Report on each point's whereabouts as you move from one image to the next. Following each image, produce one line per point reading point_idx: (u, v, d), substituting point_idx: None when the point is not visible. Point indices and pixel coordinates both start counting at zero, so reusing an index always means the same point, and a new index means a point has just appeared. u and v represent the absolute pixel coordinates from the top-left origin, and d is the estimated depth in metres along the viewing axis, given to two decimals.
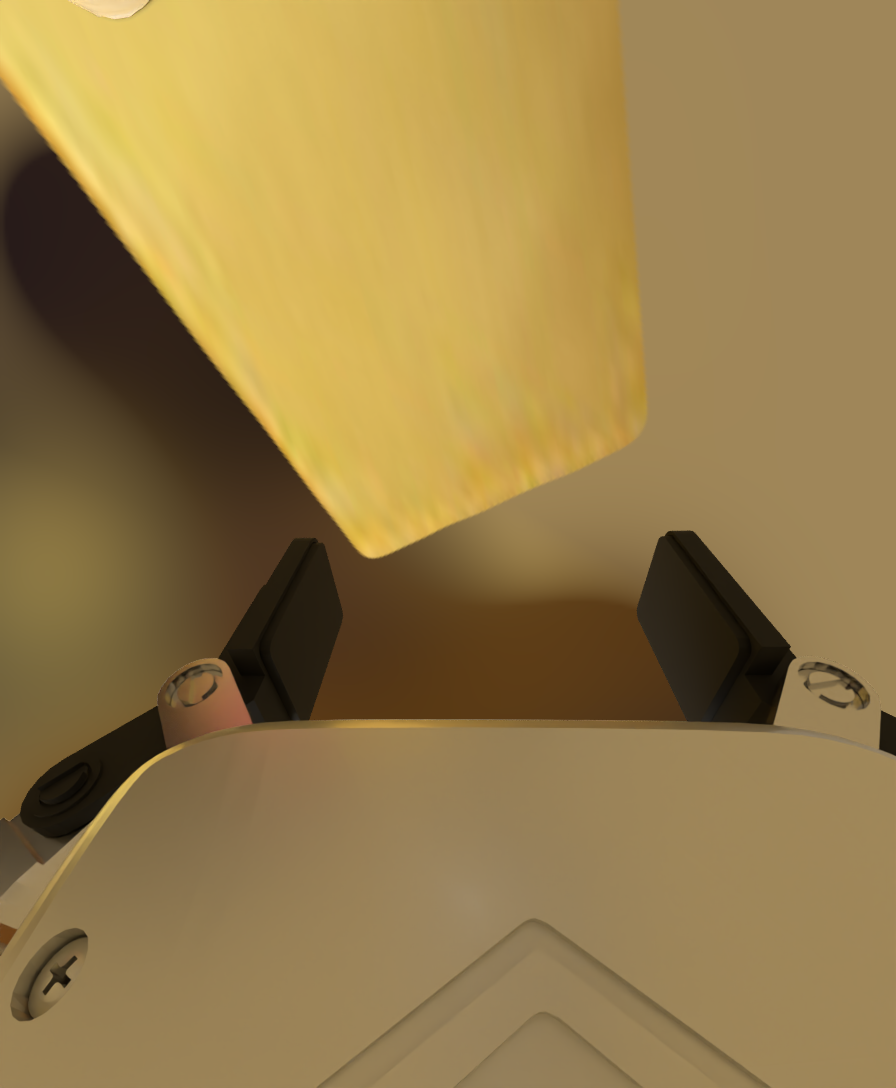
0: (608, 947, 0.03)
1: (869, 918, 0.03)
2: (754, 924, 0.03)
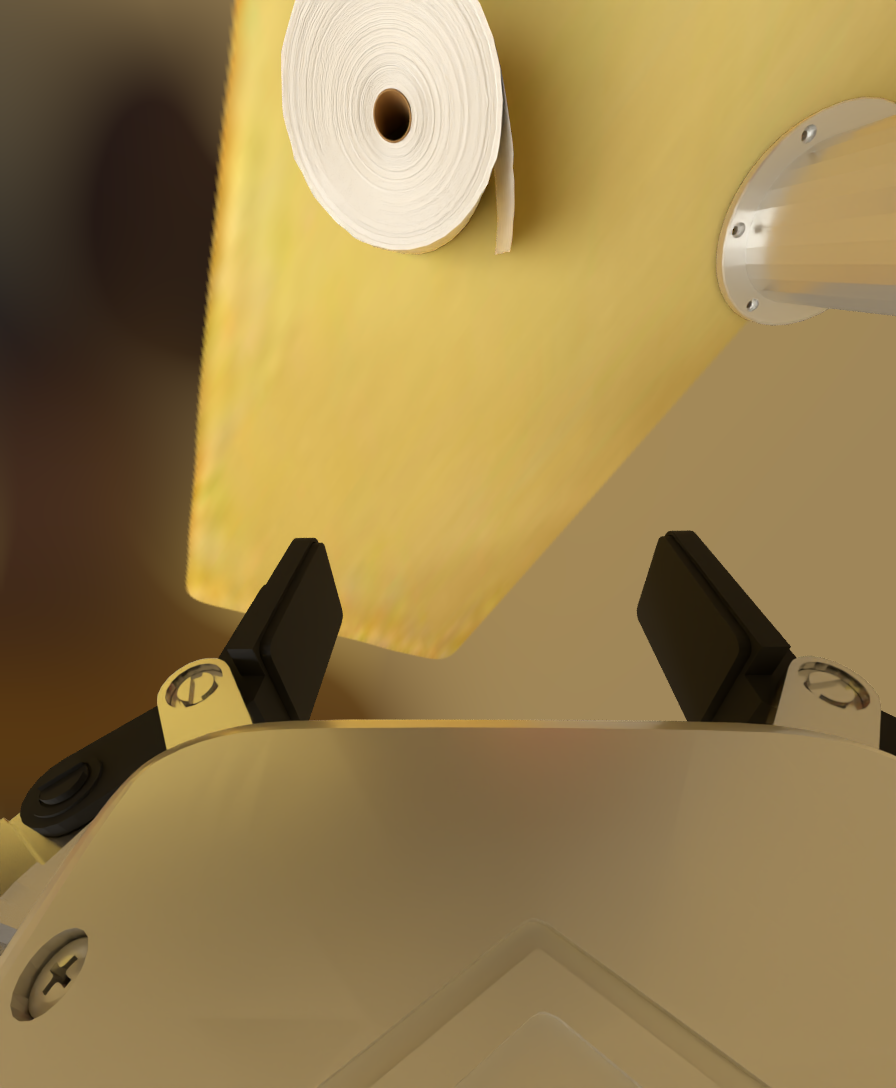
0: (609, 947, 0.03)
1: (869, 918, 0.03)
2: (754, 924, 0.03)
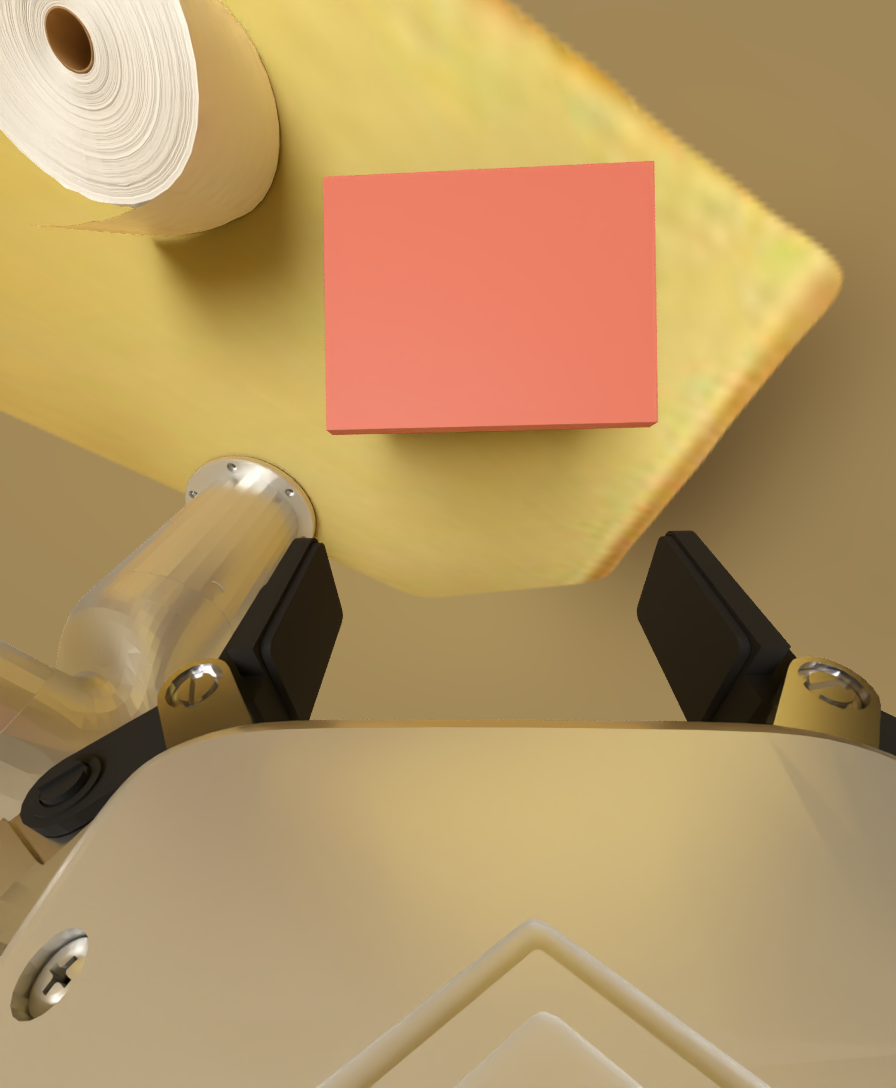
0: (609, 948, 0.03)
1: (870, 918, 0.03)
2: (755, 924, 0.03)
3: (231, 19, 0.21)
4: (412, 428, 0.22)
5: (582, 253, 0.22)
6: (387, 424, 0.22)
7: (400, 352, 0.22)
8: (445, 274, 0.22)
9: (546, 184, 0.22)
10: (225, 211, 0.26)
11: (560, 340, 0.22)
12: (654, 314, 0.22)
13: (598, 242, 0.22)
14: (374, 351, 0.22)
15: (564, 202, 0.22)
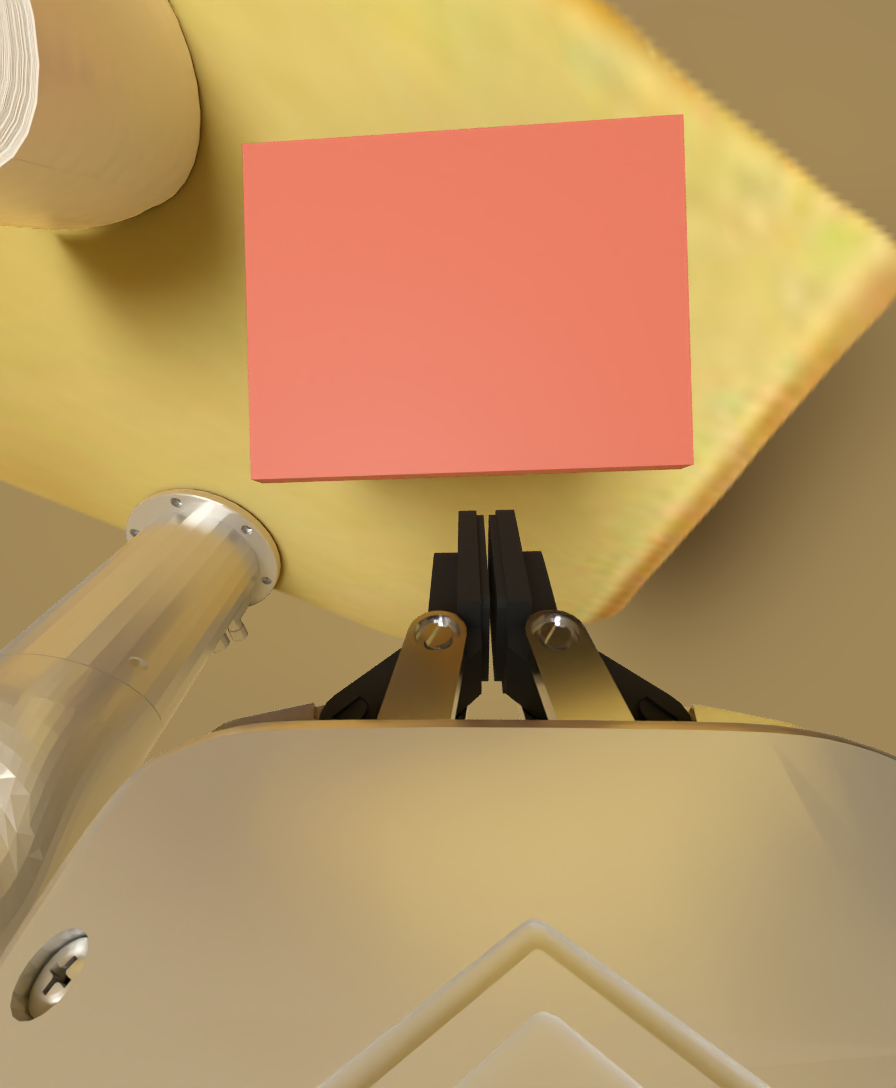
0: (607, 948, 0.03)
1: (869, 918, 0.03)
2: (754, 924, 0.03)
3: None
4: (365, 476, 0.17)
5: (588, 239, 0.16)
6: (331, 472, 0.17)
7: (347, 375, 0.17)
8: (405, 270, 0.16)
9: (538, 148, 0.16)
10: (131, 195, 0.20)
11: (560, 356, 0.16)
12: (686, 320, 0.16)
13: (610, 224, 0.16)
14: (312, 374, 0.17)
15: (563, 172, 0.16)
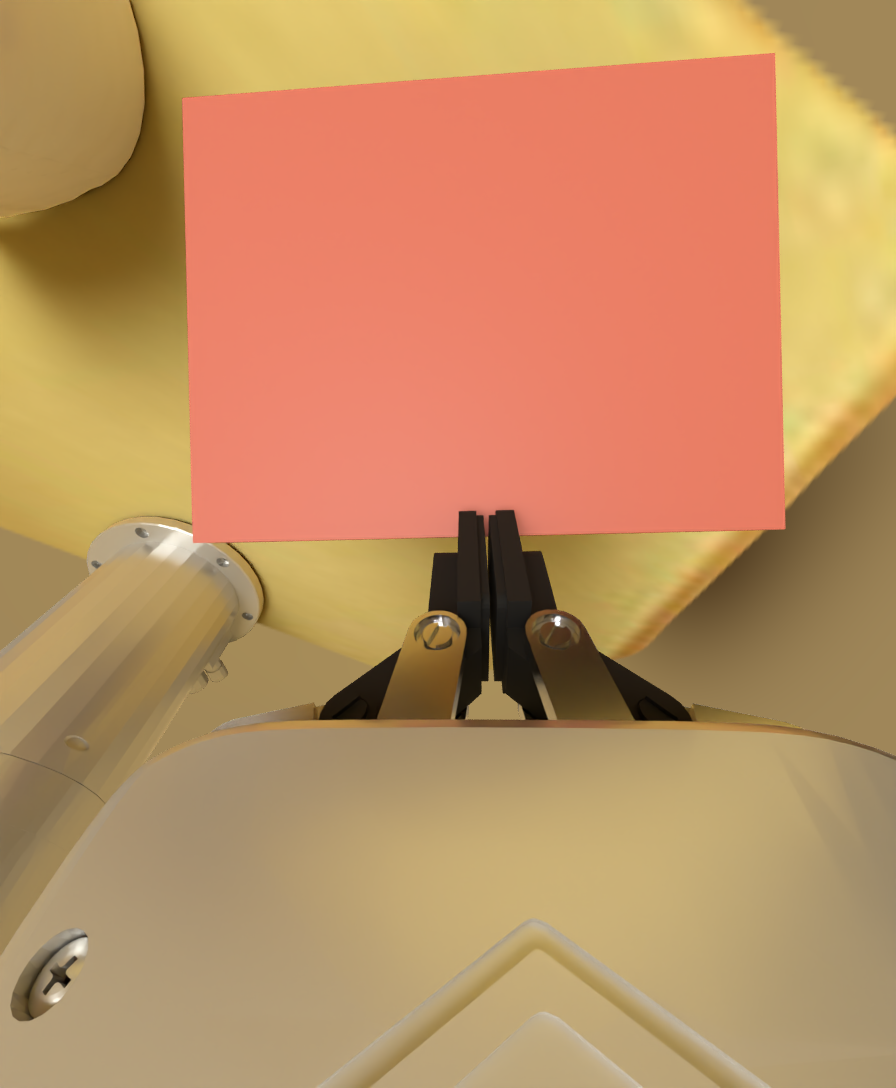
0: (609, 948, 0.03)
1: (869, 918, 0.03)
2: (754, 924, 0.03)
3: None
4: (342, 539, 0.13)
5: (643, 223, 0.12)
6: (298, 534, 0.13)
7: (320, 405, 0.12)
8: (398, 266, 0.12)
9: (577, 101, 0.12)
10: (57, 172, 0.16)
11: (605, 382, 0.12)
12: (777, 333, 0.12)
13: (674, 203, 0.12)
14: (274, 405, 0.13)
15: (610, 132, 0.12)
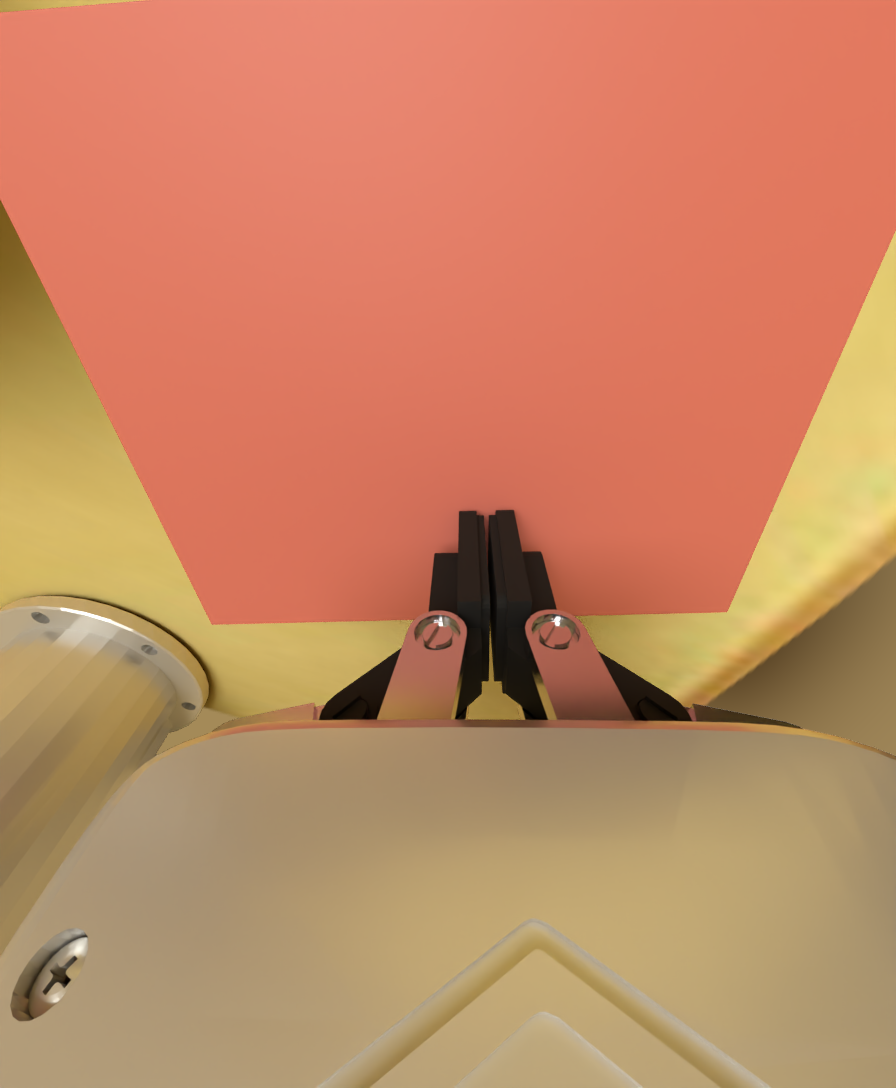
0: (609, 947, 0.03)
1: (869, 918, 0.03)
2: (754, 924, 0.03)
3: None
4: (344, 618, 0.14)
5: (683, 304, 0.09)
6: (304, 618, 0.14)
7: (297, 518, 0.12)
8: (358, 362, 0.10)
9: (634, 53, 0.07)
10: None
11: (595, 496, 0.11)
12: (795, 448, 0.11)
13: (734, 272, 0.09)
14: (249, 518, 0.12)
15: (675, 131, 0.07)
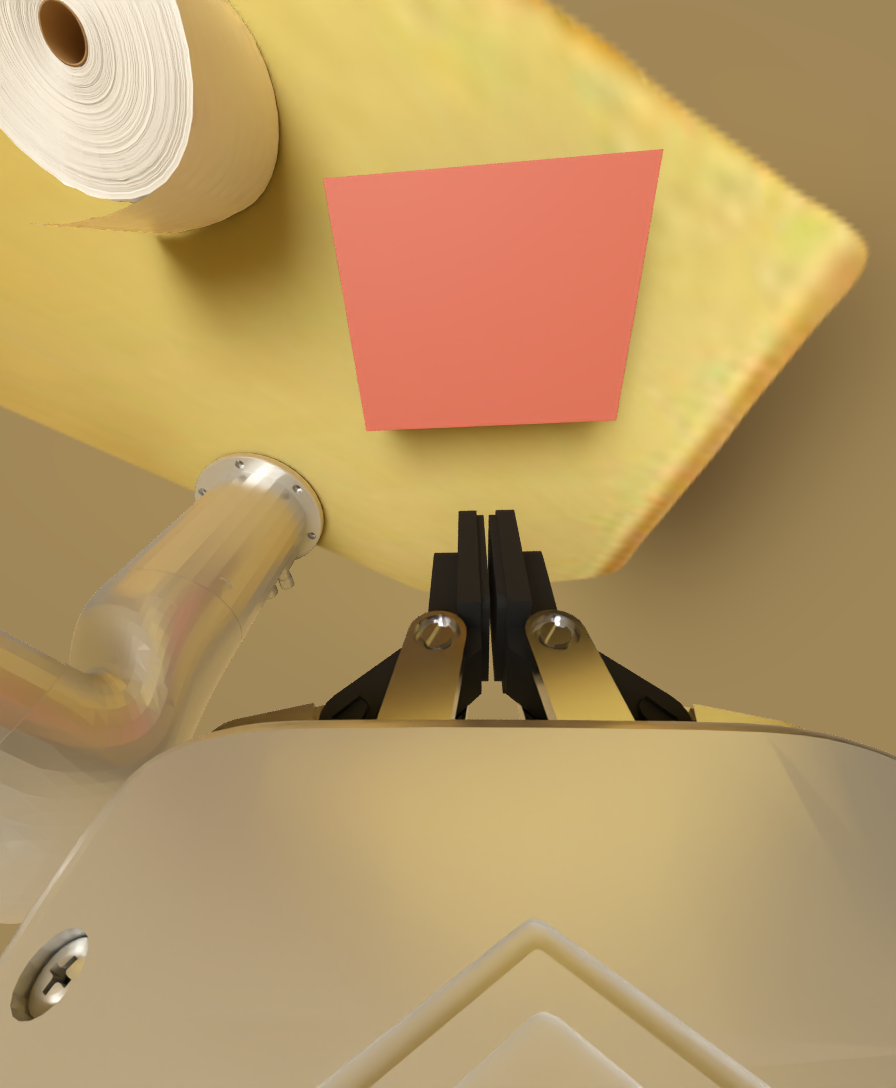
0: (608, 945, 0.03)
1: (869, 918, 0.03)
2: (754, 924, 0.03)
3: (226, 6, 0.21)
4: (430, 427, 0.30)
5: (575, 266, 0.24)
6: (411, 426, 0.29)
7: (416, 367, 0.27)
8: (451, 292, 0.25)
9: (548, 184, 0.22)
10: (226, 205, 0.25)
11: (548, 354, 0.26)
12: (630, 328, 0.25)
13: (592, 254, 0.23)
14: (395, 367, 0.27)
15: (564, 206, 0.22)
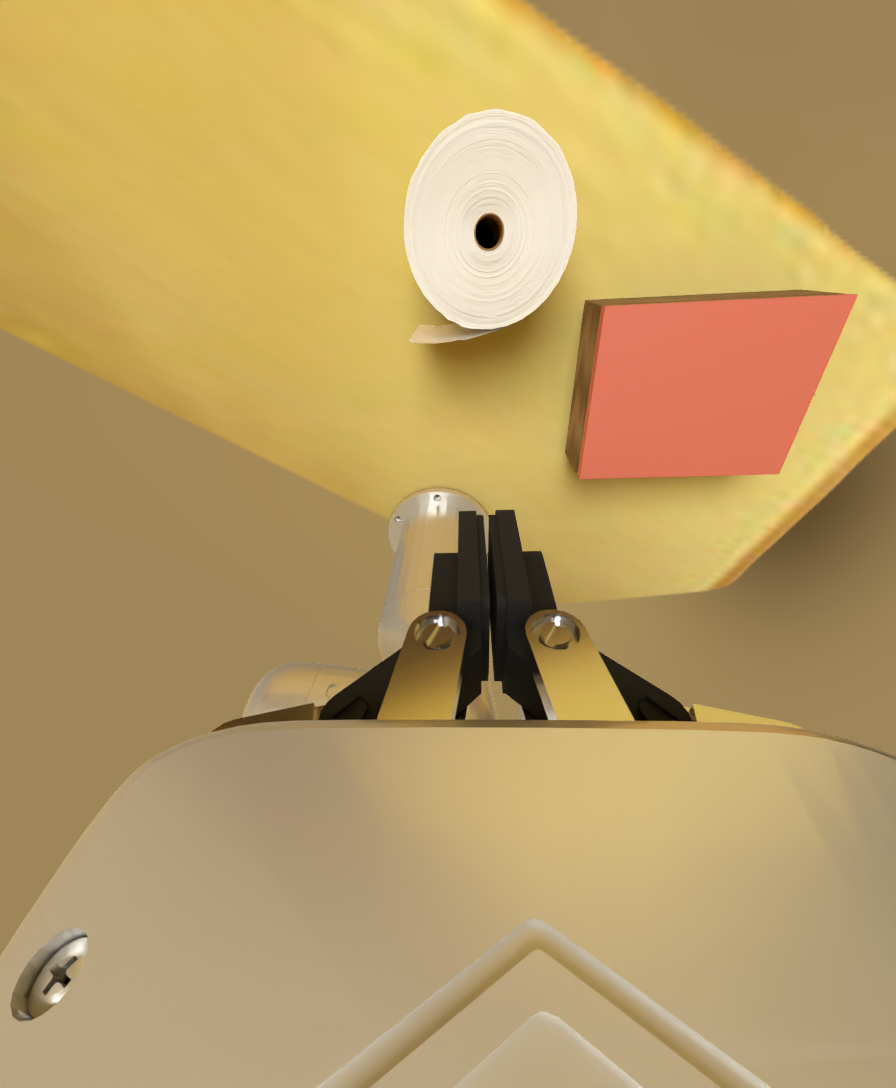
0: (609, 948, 0.03)
1: (870, 919, 0.03)
2: (755, 925, 0.03)
3: None
4: (630, 477, 0.38)
5: (775, 367, 0.32)
6: (616, 476, 0.38)
7: (634, 434, 0.35)
8: (676, 382, 0.33)
9: (770, 314, 0.30)
10: None
11: (738, 426, 0.35)
12: (805, 409, 0.34)
13: (789, 359, 0.32)
14: (617, 433, 0.35)
15: (777, 328, 0.31)
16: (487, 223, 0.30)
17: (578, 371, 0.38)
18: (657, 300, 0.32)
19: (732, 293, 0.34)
